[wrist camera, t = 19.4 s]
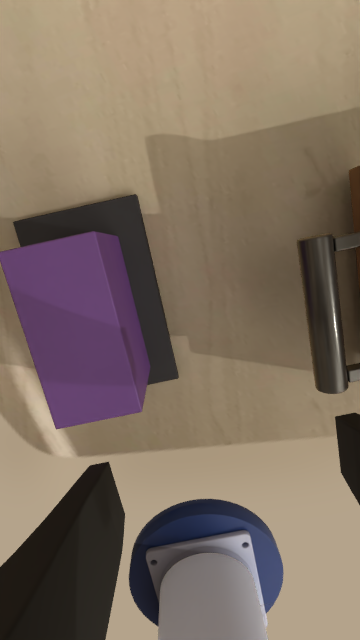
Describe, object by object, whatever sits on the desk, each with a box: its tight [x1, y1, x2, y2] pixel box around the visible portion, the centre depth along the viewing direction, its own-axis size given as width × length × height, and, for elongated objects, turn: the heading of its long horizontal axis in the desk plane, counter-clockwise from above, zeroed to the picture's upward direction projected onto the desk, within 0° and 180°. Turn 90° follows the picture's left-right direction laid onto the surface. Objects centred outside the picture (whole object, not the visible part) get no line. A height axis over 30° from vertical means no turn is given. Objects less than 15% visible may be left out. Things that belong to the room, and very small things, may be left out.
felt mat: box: [13, 194, 178, 385], centre depth 19 cm, size 11×7×1 cm, turn 12°
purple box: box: [0, 231, 150, 429], centre depth 16 cm, size 4×8×6 cm, turn 12°
